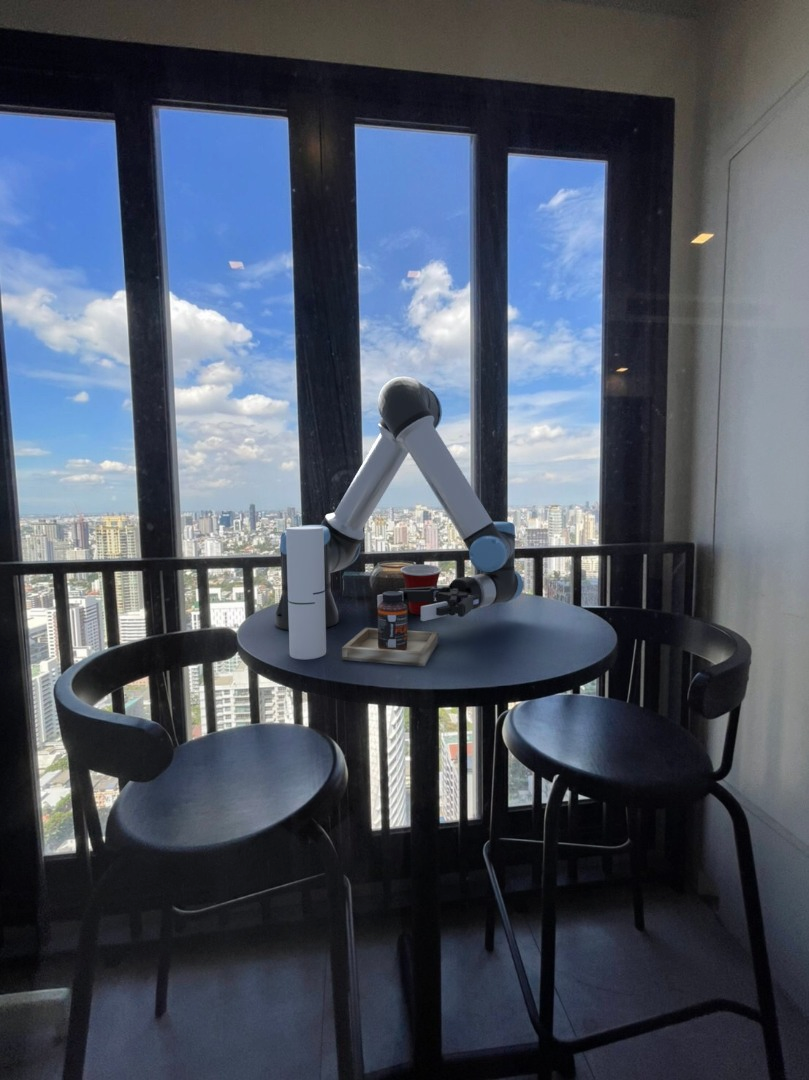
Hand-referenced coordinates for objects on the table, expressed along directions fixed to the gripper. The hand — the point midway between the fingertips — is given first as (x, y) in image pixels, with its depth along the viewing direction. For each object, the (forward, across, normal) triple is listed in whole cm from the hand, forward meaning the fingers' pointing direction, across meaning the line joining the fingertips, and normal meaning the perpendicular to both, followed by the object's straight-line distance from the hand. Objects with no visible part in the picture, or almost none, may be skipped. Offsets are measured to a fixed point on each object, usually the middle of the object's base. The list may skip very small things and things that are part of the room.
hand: (398, 607), depth 99 cm
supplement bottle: (+1, 0, -8) cm, 9 cm away
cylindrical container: (+15, +11, -9) cm, 20 cm away
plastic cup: (-24, +20, -9) cm, 33 cm away
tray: (+1, 0, -9) cm, 9 cm away
